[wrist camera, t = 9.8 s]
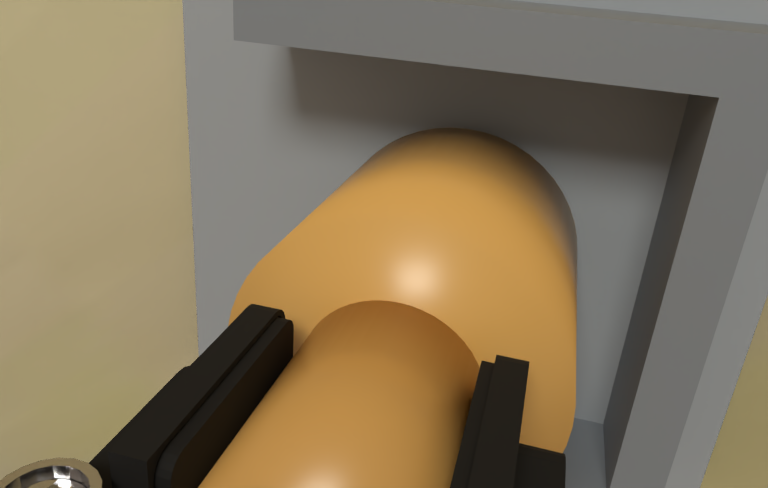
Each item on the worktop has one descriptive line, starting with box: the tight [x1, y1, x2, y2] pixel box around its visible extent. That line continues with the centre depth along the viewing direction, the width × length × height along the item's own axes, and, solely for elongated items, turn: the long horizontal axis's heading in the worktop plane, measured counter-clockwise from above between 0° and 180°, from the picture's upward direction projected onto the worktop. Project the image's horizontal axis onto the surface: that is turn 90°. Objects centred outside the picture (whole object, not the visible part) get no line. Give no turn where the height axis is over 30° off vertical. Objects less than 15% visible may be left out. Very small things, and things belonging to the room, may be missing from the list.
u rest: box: [183, 0, 768, 488], centre depth 17 cm, size 16×14×4 cm
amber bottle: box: [198, 127, 577, 488], centre depth 13 cm, size 6×6×11 cm
